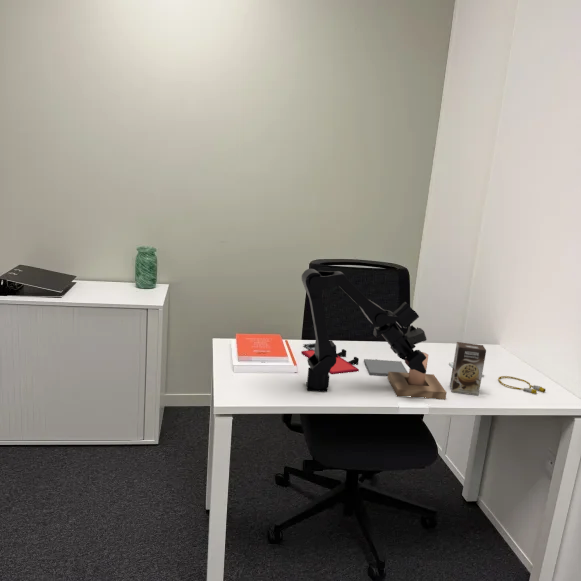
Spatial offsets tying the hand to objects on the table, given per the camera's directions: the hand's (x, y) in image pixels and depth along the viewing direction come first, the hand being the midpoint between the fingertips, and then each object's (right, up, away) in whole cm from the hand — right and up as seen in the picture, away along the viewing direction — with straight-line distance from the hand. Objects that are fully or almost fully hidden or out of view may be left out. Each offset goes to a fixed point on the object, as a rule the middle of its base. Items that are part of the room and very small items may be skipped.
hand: (421, 369), depth 207 cm
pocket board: (-2, -7, +1) cm, 7 cm away
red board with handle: (-30, 0, +25) cm, 39 cm away
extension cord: (+37, -8, +12) cm, 40 cm away
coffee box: (+15, -8, +3) cm, 17 cm away
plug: (-2, -6, +1) cm, 7 cm away
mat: (-9, -2, +18) cm, 20 cm away
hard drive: (+21, -4, +23) cm, 32 cm away
